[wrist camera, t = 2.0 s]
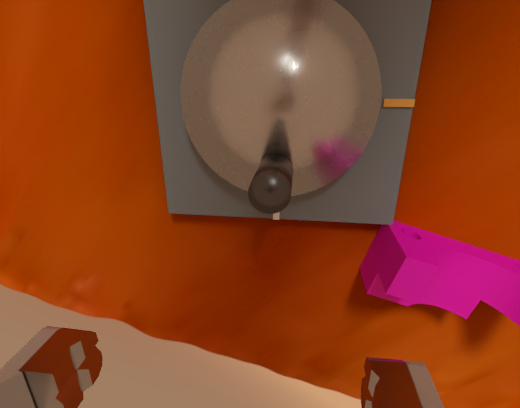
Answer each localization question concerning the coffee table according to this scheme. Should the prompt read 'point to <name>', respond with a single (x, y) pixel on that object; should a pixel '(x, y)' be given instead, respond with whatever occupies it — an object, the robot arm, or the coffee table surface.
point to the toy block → (439, 272)
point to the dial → (280, 96)
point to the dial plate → (342, 188)
